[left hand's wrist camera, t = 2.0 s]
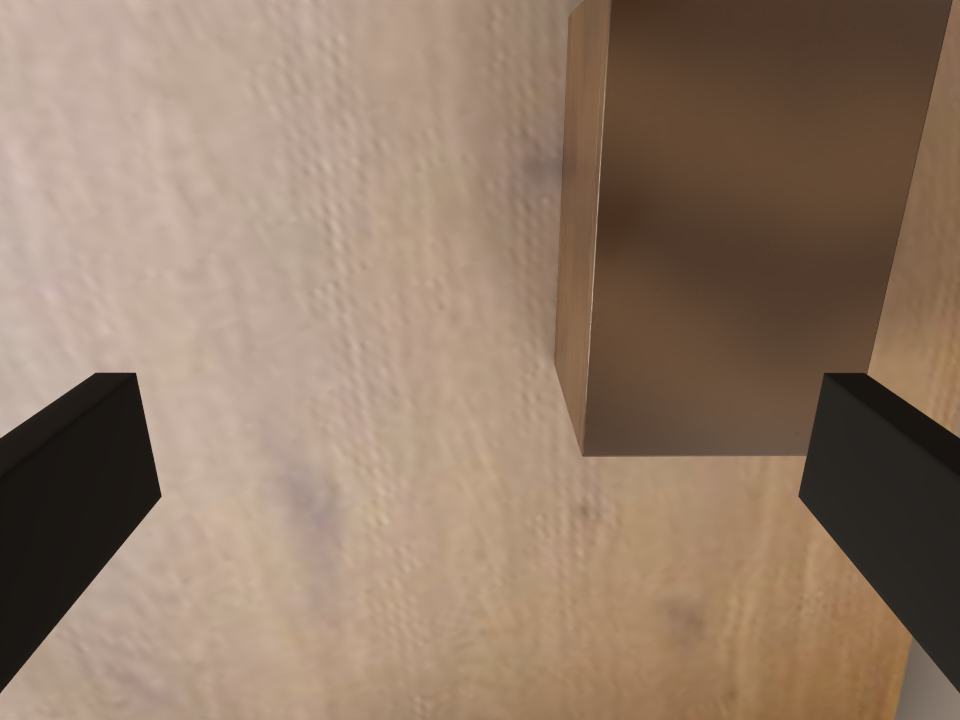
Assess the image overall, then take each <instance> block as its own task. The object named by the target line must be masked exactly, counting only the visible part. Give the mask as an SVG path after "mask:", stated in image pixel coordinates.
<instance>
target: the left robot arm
mask: <svg viewBox="0 0 960 720" xmlns="http://www.w3.org/2000/svg"><path fill="white" fill-rule="evenodd" d="M161 497H162V496H161V491H160V486H159V481H158V477H157V472H156V467H155V462H154V457H153V453H152V448H151V443H150V438H149V433H148V429H147V424H146V419H145V414H144V409H143V405H142V400H141V395H140V390H139V385H138V381H137V376H136V373H95V374H93V375H92V376H90V377H89V378H87V379H86V380H85V381H83V382H82V383H80V384H79V385H77V386H76V387H74V388H73V389H71V390H70V391H69V392H67V393H66V394H64V395H63V396H61V397H60V398H58V399H57V400H55V401H54V402H53V403H51V404H50V405H48V406H47V407H45V408H44V409H42V410H41V411H39V412H38V413H37V414H35V415H34V416H32V417H31V418H29V419H28V420H26V421H25V422H23V423H22V424H21V425H19V426H18V427H16V428H15V429H13V430H12V431H10V432H9V433H7V434H6V435H5V436H3V437H2V438H0V693H1V692H2V690H3V689H4V688H5V687H6V686H7V684H8V683H9V682H10V681H11V679H12V678H13V677H14V676H15V675H16V673H17V672H18V671H19V670H20V669H21V667H22V666H23V665H24V664H25V662H26V661H27V660H28V659H29V658H30V656H31V655H32V654H33V653H34V651H35V650H36V649H37V648H38V647H39V645H40V644H41V643H42V642H43V640H44V639H45V638H46V637H47V636H48V634H49V633H50V632H51V631H52V630H53V628H54V627H55V626H56V625H57V623H58V622H59V621H60V620H61V619H62V617H63V616H64V615H65V614H66V612H67V611H68V610H69V609H70V608H71V606H72V605H73V604H74V603H75V601H76V600H77V599H78V598H79V597H80V595H81V594H82V593H83V592H84V591H85V589H86V588H87V587H88V586H89V584H90V583H91V582H92V581H93V580H94V578H95V577H96V576H97V575H98V573H99V572H100V571H101V570H102V569H103V567H104V566H105V565H106V564H107V562H108V561H109V560H110V559H111V558H112V556H113V555H114V554H115V553H116V552H117V550H118V549H119V548H120V547H121V545H122V544H123V543H124V542H125V541H126V539H127V538H128V537H129V536H130V534H131V533H132V532H133V531H134V530H135V528H136V527H137V526H138V525H139V523H140V522H141V521H142V520H143V519H144V517H145V516H146V515H147V514H148V513H149V511H150V510H151V509H152V508H153V506H154V505H155V504H156V503H157V502H158V500H159V499H160V498H161ZM798 497H799V498H800V499H801V500H802V502H803V503H804V504H805V505H806V506H807V508H808V509H809V510H810V511H811V513H812V514H813V515H814V516H815V517H816V519H817V520H818V521H819V522H820V523H821V525H822V526H823V527H824V528H825V530H826V531H827V532H828V533H829V534H830V536H831V537H832V538H833V539H834V541H835V542H836V543H837V544H838V545H839V547H840V548H841V549H842V550H843V552H844V553H845V554H846V555H847V556H848V558H849V559H850V560H851V561H852V562H853V564H854V565H855V566H856V567H857V569H858V570H859V571H860V572H861V573H862V575H863V576H864V577H865V578H866V580H867V581H868V582H869V583H870V584H871V586H872V587H873V588H874V589H875V591H876V592H877V593H878V594H879V595H880V597H881V598H882V599H883V600H884V601H885V603H886V604H887V605H888V606H889V608H890V609H891V610H892V611H893V612H894V614H895V615H896V616H897V617H898V619H899V620H900V621H901V622H902V623H903V625H904V626H905V627H906V628H907V630H908V631H909V632H910V633H911V634H912V636H913V637H914V638H915V639H916V640H917V642H918V643H919V644H920V645H921V647H922V648H923V649H924V650H925V651H926V653H927V654H928V655H929V656H930V658H931V659H932V660H933V661H934V662H935V664H936V665H937V666H938V667H939V669H940V670H941V671H942V672H943V673H944V675H945V676H946V677H947V678H948V679H949V681H950V682H951V683H952V684H953V685H954V687H955V688H956V689H957V690H958V692H959V693H960V438H958V437H957V436H955V435H954V434H953V433H951V432H950V431H948V430H947V429H945V428H944V427H942V426H941V425H939V424H938V423H937V422H935V421H934V420H932V419H931V418H929V417H928V416H926V415H925V414H923V413H922V412H921V411H919V410H918V409H916V408H915V407H913V406H912V405H910V404H909V403H907V402H906V401H905V400H903V399H902V398H900V397H899V396H897V395H896V394H894V393H893V392H891V391H890V390H889V389H887V388H886V387H884V386H883V385H881V384H880V383H878V382H877V381H875V380H874V379H873V378H871V377H870V376H868V375H867V374H865V373H824V376H823V381H822V385H821V390H820V395H819V400H818V405H817V409H816V414H815V419H814V424H813V429H812V433H811V438H810V443H809V448H808V453H807V457H806V462H805V467H804V472H803V477H802V481H801V486H800V491H799V496H798Z"/></svg>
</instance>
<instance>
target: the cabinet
mask: <svg viewBox="0 0 960 720" xmlns="http://www.w3.org/2000/svg"><path fill="white" fill-rule="evenodd" d="M952 1H953V0H584V1H583V2H582V3H581V4H580V5H579V6H578V8H577V9H576V10H575V11H574V12H573V13H572V14H571V15H570V16H569V26H568V50H567V74H566V98H565V122H564V146H563V170H562V194H561V218H560V242H559V266H558V290H557V314H556V338H555V362H554V365H555V368H556V372H557V375H558V379H559V382H560V385H561V388H562V392H563V395H564V398H565V402H566V405H567V408H568V412H569V415H570V418H571V422H572V425H573V428H574V432H575V435H576V438H577V442H578V445H579V448H580V451H581V454H582V456H584V457H586V456H807V453H808V448H809V443H810V438H811V433H812V429H813V424H814V419H815V414H816V409H817V405H818V400H819V395H820V390H821V385H822V381H823V376H824V373H865V374H867V373H868V368H869V364H870V359H871V355H872V351H873V346H874V342H875V338H876V333H877V329H878V324H879V320H880V316H881V311H882V307H883V303H884V298H885V294H886V289H887V285H888V281H889V276H890V272H891V268H892V263H893V259H894V254H895V250H896V246H897V241H898V237H899V233H900V228H901V224H902V219H903V215H904V211H905V206H906V202H907V198H908V193H909V189H910V184H911V180H912V176H913V171H914V167H915V163H916V158H917V154H918V149H919V145H920V141H921V136H922V132H923V128H924V123H925V119H926V114H927V110H928V106H929V101H930V97H931V93H932V88H933V84H934V79H935V75H936V71H937V66H938V62H939V58H940V53H941V49H942V44H943V40H944V36H945V31H946V27H947V23H948V18H949V14H950V9H951V5H952Z"/></svg>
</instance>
